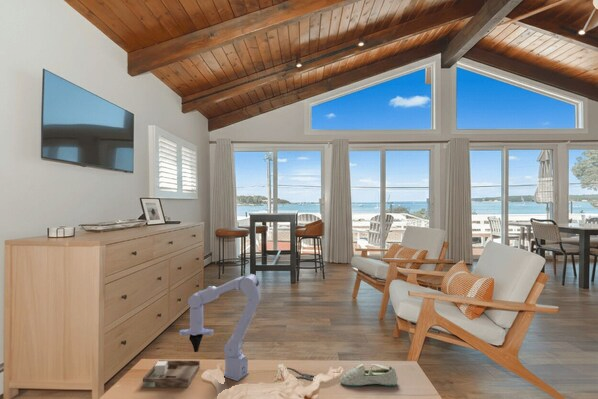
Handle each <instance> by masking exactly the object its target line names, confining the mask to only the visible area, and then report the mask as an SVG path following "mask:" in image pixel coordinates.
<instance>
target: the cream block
mask: <svg viewBox="0 0 598 399" xmlns="http://www.w3.org/2000/svg"><path fill="white" fill-rule="evenodd" d="M156 363H157V364H156ZM156 363H155V364H156V365H155V364H154V365H155V375H165V373H166V372H167V368H168V361H159V360H158V361H157V362H156Z"/></svg>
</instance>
